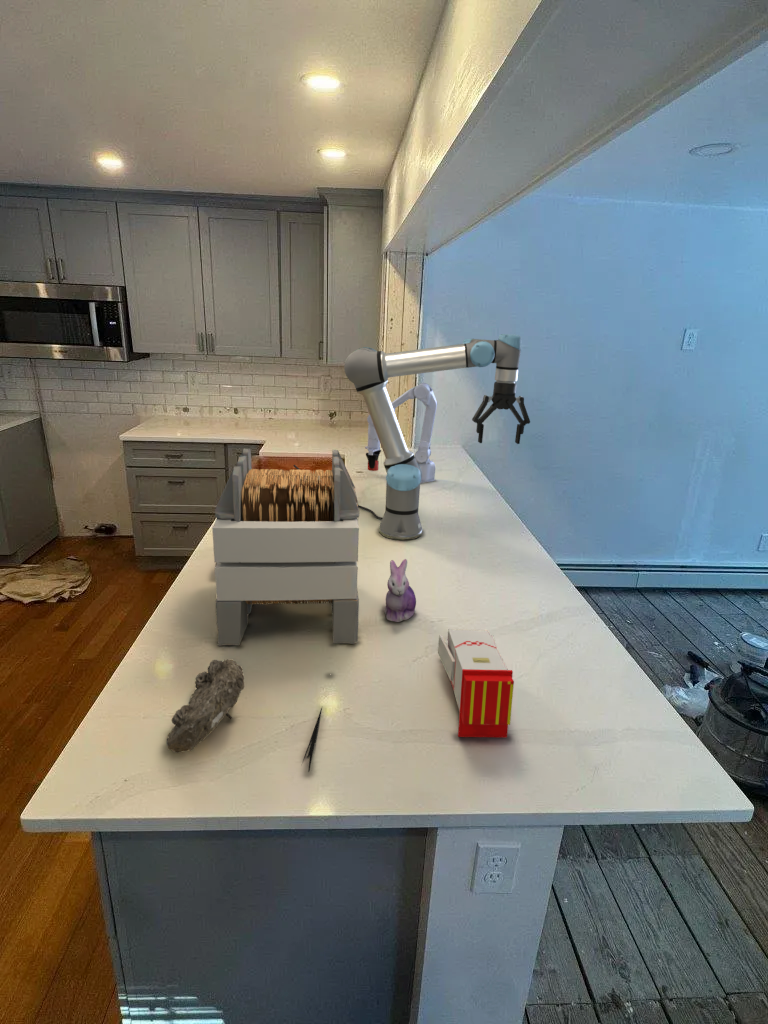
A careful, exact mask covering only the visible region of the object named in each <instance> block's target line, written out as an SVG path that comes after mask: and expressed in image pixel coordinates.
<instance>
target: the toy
mask: <svg viewBox="0 0 768 1024" xmlns="http://www.w3.org/2000/svg"><path fill="white" fill-rule="evenodd" d="M446 640H447V643H446V641H445V639H444V636H443V635H442V634H439V637H438V646H437V656H438V657H439V659H440V661H441V663H442V666H443V668H444V670H445V672H446V674H447V677H448V679H449V681H450V684H451V687H452V690H453V693H454V697H455V701H456V705H457V708H458V711H459V714H458V715H459V716H458V730H457V731H458V732H457V737H458V738H508V731H509V726H510V725H511V717H512V707H513V697H514V696H513V695H514V684H515V680H514V679H513V673H514V671H513V670H512V669H508V667H507V665H506V662H505V661H504V659H503V658H502V655H501V653H500V651H499V649H498V647H497V643H496V639H495V637H494V635H493V634H491V632H490V631H489V629H467V628H466V629H465V628H463V629H461V628H460V629H459V628H448V630H447V639H446Z"/></svg>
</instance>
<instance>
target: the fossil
mask: <svg viewBox="0 0 768 1024" xmlns="http://www.w3.org/2000/svg"><path fill="white" fill-rule="evenodd" d="M243 670H244V669H243V667H242V665H240V664H237V662H236V661H235V660H234V659H232V658H231V659H227V658H226V659H224V660H223V661H222V660H217V659H212V660H211V661H210V663H209V665H208V666H207V671H201V672H199V673H198V674H197V675H196V676H195V680H194V684H195V685H194V687H195V689H194V690H193V693H192V694H191V697H190V698H189V700H188V704H184V705H182V706H181V707H180V709H177V710H176V711H175V713H174V715H173V716H172V718H171V723H172V724H173V727H172V730H171V731H170V732H168V734H167V738H166V741H167V742H166V745H167V749H168V750H169V751H173V752H174V753H176V754H178V753H182V752H188V751H189V752H192V751H193V750H195V748H196V747H197V746H199V744H200V743H201V742H203V741H204V740H205V739H206V738H207V737H208V736H209V735H210V734H211V733H212V732H214V730H215V729H217V727H218V726H219V724H220V722H221V721H222V720H223V719H224V718H225V716H226V717H227V719H229V720H233V717H232V715H230V714H229V710H230V709H231V708H234V706H235V704H236V703H237V702H238V699H239V697H240V695H241V693H242V691H243V690H245V689H244V688H245V675H244V671H243Z"/></svg>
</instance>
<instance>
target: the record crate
mask: <svg viewBox="0 0 768 1024" xmlns="http://www.w3.org/2000/svg"><path fill="white" fill-rule="evenodd" d="M331 454H332V455H331V458H332V459H331V469H325V470H324V469H315V470H311V469H300V470H297V469H289V470H283V469H281V468H280V469H278V468H277V469H273V468H271V469H269V468H266V469H265V468H260V469H259V468H258V469H257V468H252V466H253V465H252V452H251V448H243V449H242V451H241V453H240V455H239V457H238V460H237V462H236V464H235V465H234V466H233V468H232V470H231V473H230V475H229V477H228V479H227V482H226V484H225V486H224V488H223V491H222V492H221V495H220V497H219V499H218V501H217V504H216V506H215V509H214V517H215V518H216V520H214V523H213V525H212V543H213V544H212V545H213V561H214V563H215V564H216V562H217V564H216V567H215V566H214V574H215V591H216V599H215V604H214V605H215V619H216V620H215V621H216V629H217V641H218V642H217V646H219V647H220V646H221V647H225V646H240V644H241V643H242V640H243V637H244V634H245V632H246V629H247V627H248V624H249V615H251V611H252V606H253V605H272V604H273V605H278V604H279V605H281V604H282V605H290V604H292V605H297V604H299V605H300V604H309V605H310V604H315V605H316V604H331V623H332V624H331V626H332V644H351V645H355V644H356V643H357V642H359V607H360V605H359V603H360V598H359V591H358V575H359V574H358V571H359V566H358V562H359V538H360V537H359V535H360V526H359V521H358V518H359V517H360V508H359V507H358V505H359V503H358V497H357V493H356V486H355V484H354V482H353V480H352V477H351V475H350V473H349V471H348V468H347V466H346V464H345V462H344V460H343V458H342V455H341V454H340V451H339V450H338V449H332V453H331Z"/></svg>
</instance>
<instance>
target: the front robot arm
mask: <svg viewBox="0 0 768 1024" xmlns="http://www.w3.org/2000/svg"><path fill="white" fill-rule="evenodd" d="M521 351H522V336H520V335H519V334H508V333H507V334H505V333H504V334H503V333H502V334H500V335H499V336H498V339H494V340H493V339H479V338H465V339H464V340H463V341H462V343H458V344H450V345H442V346H435V347H427V348H419V349H412V350H411V349H410V350H403V351H395V352H387V353H386V352H385V351H384V350H378V351H377V350H376V349H375V348H372V347H367V346H363V347H359V348H358V349H355V350H354V351H352V352H351V353H349V354H348V356H347V357H346V359H345V360H344V361H345V362H344V365H343V367H344V369H343V371H344V374H345V376H346V378H347V380H348V381H350V382H351V383H352V384H353V386H354V388H355V391H356V393H357V394H359V395H361V396H362V397H363V401H364V403H365V405H366V408H367V411H368V413H369V414H368V415H370V416H371V419H372V422H373V425H374V427H375V430H376V433H377V435H378V438H379V441H380V447H381V449H382V452H383V454H384V457H385V459H384V461H383V466H384V469H385V472H386V475H385V481H386V485H385V504H384V505H385V507H384V508H385V509H384V513H383V515H382V516H378V515H377V514H376V513H375V511H373V510H372V509H370V508H368V507H365V506H362V505H360V504H358V507H359V509H362V510H364V511H367V512H369V513H370V514H372V516H374V518H375V519H378V520H381V522H379V525H378V533H379V534H380V535H381V536H382V537H385V538H387V539H389V540H395V541H410V540H415V539H418V538H420V537H421V536H422V535H423V525H422V521H421V518H420V515H419V507H420V506H419V505H420V491H421V483H420V482H421V478H422V475H421V474H422V472H421V468H420V466H419V464H418V463H417V462H416V459H415V453H414V452H413V451H411V450H409V449H408V446H407V444H406V441H405V438H404V435H403V432H402V429H401V426H400V424H399V421H398V418H397V415H396V411H395V412H394V409H393V406H392V404H391V402H392V401H391V398H390V396H389V395H390V394H389V392H388V390H387V384H388V382H389V380H388V379H389V378H396V377H405V376H412V375H419V374H427V373H434V372H435V373H436V372H443V371H451V370H457V369H458V370H459V369H467V368H468V369H469V368H485V367H488V366H489V365H490V364H495V374H494V380H495V381H494V383H493V392H492V393H493V394H492V395H487V394H484V395H483V397H482V401H481V403H480V405H479V407H478V408H477V410H476V412H475V413H474V415H473V417H472V419H471V420H472V422H474V423H475V424H476V429H475V430H476V431H475V432H476V433H477V434H478V436H477V437H478V438H477V442H478V443H479V444H483V438H484V430H485V429H484V427H485V424H483V423H484V422H485V421H486V420H488V418H489V417H490V416H491V415H492V414H493V412H495V411H496V410H507V411H508V410H510V412H511V413H512V414H513V416H514V417H515V419H516V420H517V421H518V423H517V424H516V431H515V438H514V443H515V444H517V445H520V444H521V443H520V442H521V435H523V434H524V430H525V426H526V425H529V424H530V423H531V419H530V417H529V414H528V411H527V408H526V405H525V397H524V396H522V395H519V396H516V393H517V392H516V391H517V383H516V382H517V381H518V377H519V376H518V375H519V365H520V358H521ZM490 402H492V403H491V405H489V407H488V408H487V409H486V407H487V405H488V404H489V403H490ZM515 402H516V403H517V404H518V407H519V410H520V412H521V414H520V413H519V412H518V411H517V409H516V407H515V406H514V404H515ZM485 409H486V411H485ZM483 412H484V413H483ZM521 415H522V416H521ZM293 467H294V468H295V470H301V469H300V468H299V467H298V466H297V465H296V464H293Z"/></svg>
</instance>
